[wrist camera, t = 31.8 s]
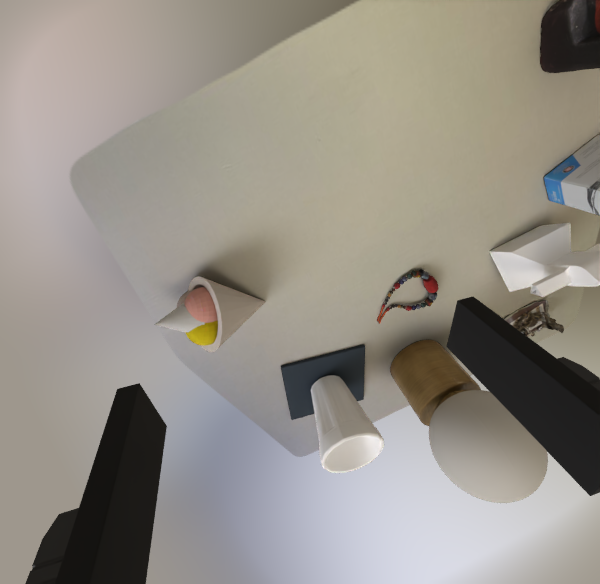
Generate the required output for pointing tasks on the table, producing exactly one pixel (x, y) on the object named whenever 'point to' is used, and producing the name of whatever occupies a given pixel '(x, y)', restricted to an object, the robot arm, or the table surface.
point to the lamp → (469, 427)
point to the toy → (210, 313)
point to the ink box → (577, 179)
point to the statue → (571, 36)
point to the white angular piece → (546, 261)
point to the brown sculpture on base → (533, 319)
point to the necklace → (428, 284)
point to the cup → (343, 427)
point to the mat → (310, 370)
